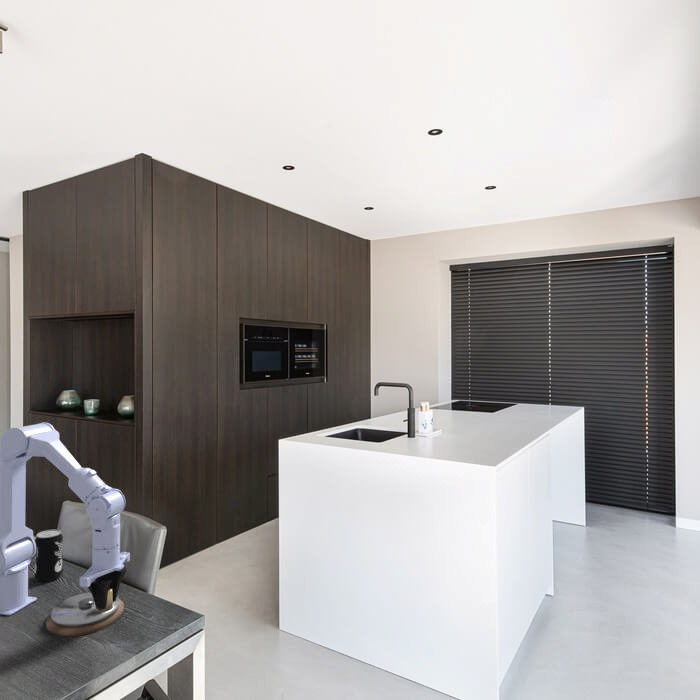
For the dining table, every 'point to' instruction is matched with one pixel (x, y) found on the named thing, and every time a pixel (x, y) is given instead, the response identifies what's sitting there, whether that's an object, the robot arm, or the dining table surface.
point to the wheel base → (84, 629)
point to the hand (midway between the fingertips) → (105, 604)
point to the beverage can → (48, 556)
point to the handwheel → (83, 610)
